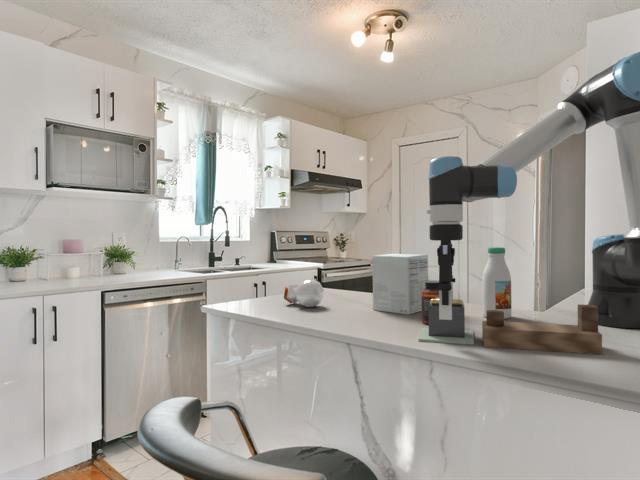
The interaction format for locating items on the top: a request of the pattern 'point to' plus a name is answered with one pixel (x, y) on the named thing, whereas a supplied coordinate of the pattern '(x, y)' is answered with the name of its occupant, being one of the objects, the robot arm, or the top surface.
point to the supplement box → (399, 282)
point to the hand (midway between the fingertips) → (446, 313)
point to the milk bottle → (496, 283)
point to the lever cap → (447, 326)
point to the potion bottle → (305, 293)
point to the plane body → (545, 333)
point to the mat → (447, 338)
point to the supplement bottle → (428, 298)
